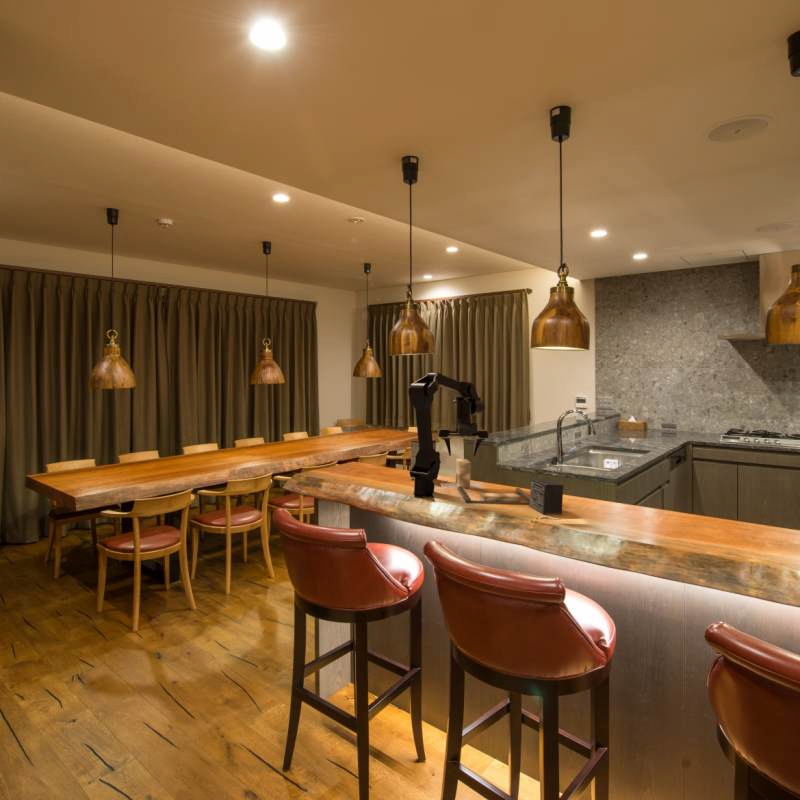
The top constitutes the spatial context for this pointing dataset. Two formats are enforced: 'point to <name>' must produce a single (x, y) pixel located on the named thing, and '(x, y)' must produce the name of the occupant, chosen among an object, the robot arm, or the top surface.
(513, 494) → the upper offcut
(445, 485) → the mat
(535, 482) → the small box
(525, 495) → the rack
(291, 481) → the top surface
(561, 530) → the top surface
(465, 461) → the tan brown block
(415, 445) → the coffee box
